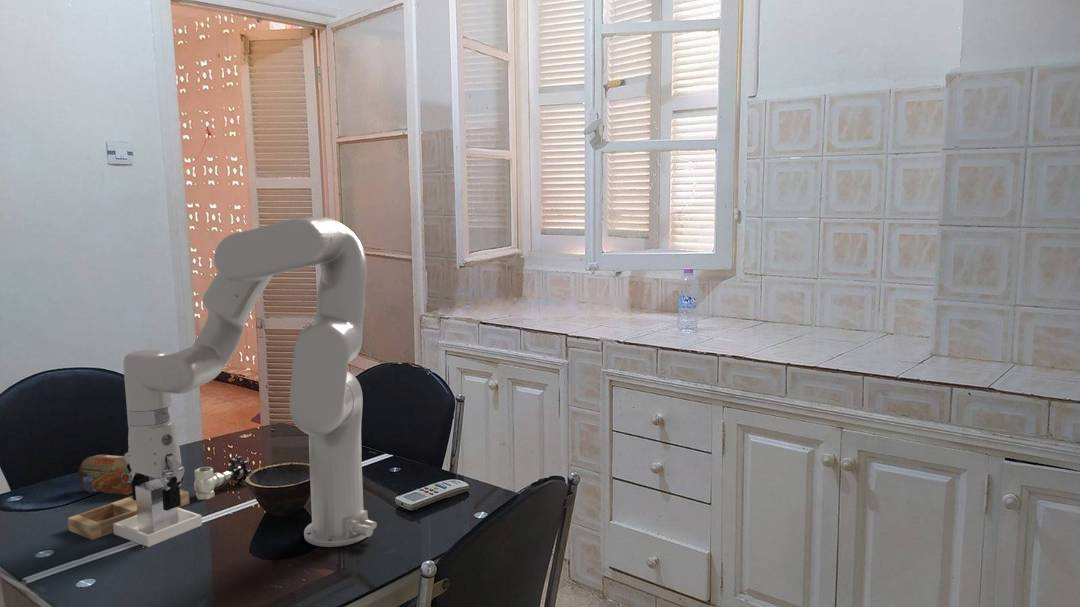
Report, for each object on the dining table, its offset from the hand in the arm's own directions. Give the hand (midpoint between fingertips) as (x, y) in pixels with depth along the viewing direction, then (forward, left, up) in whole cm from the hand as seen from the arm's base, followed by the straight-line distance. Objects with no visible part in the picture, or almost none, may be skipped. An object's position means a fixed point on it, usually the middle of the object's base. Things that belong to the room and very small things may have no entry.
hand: (156, 502), depth 144 cm
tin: (+28, -7, -6) cm, 29 cm away
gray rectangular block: (0, 0, -5) cm, 5 cm away
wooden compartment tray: (+10, -1, -6) cm, 12 cm away
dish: (0, 0, -6) cm, 6 cm away
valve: (+7, -19, -6) cm, 21 cm away
